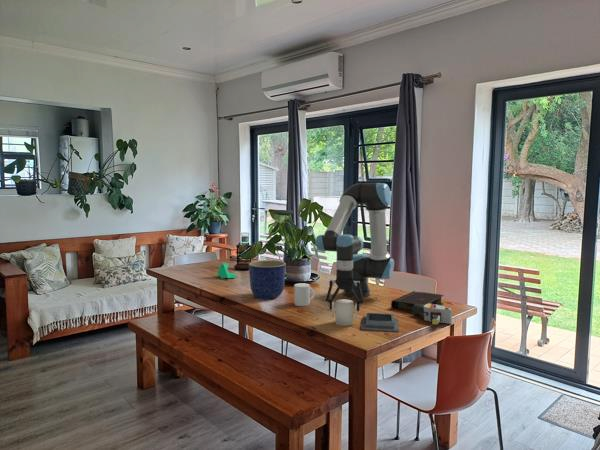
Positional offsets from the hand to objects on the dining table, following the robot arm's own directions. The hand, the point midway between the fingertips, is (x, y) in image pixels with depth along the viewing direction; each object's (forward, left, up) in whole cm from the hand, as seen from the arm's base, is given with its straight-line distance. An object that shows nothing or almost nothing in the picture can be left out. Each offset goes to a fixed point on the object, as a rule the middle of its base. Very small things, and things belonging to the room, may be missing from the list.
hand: (344, 317), depth 200 cm
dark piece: (-114, -83, -3) cm, 141 cm away
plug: (0, 0, -3) cm, 3 cm away
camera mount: (-84, -85, -3) cm, 119 cm away
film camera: (-9, +38, -3) cm, 39 cm away
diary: (-34, +36, -3) cm, 49 cm away
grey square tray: (0, +16, -3) cm, 16 cm away
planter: (-39, -46, -3) cm, 60 cm away
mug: (-29, -23, -3) cm, 37 cm away
